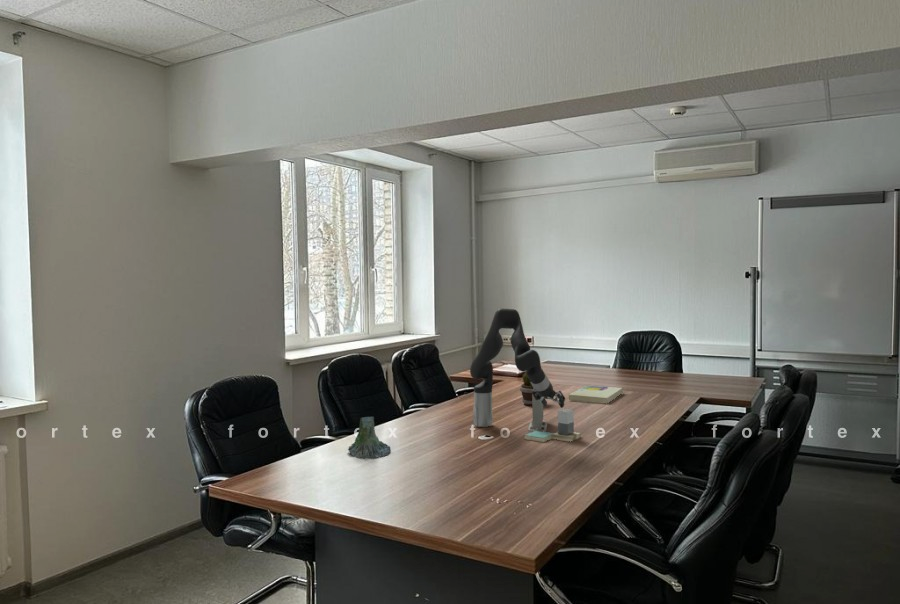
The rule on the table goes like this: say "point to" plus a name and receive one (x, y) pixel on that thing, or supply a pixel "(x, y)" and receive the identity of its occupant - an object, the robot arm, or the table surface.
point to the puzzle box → (595, 394)
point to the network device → (537, 416)
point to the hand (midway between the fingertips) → (554, 405)
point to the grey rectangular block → (565, 422)
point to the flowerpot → (526, 390)
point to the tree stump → (368, 441)
